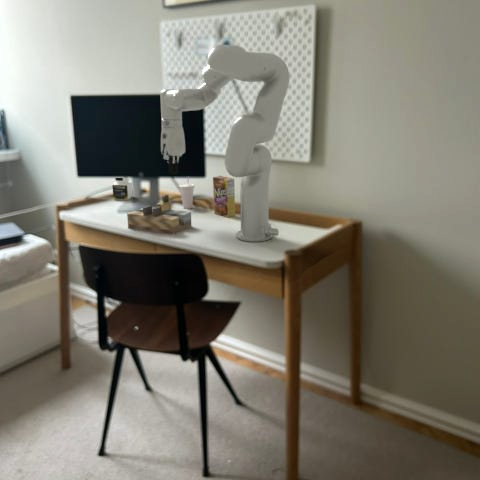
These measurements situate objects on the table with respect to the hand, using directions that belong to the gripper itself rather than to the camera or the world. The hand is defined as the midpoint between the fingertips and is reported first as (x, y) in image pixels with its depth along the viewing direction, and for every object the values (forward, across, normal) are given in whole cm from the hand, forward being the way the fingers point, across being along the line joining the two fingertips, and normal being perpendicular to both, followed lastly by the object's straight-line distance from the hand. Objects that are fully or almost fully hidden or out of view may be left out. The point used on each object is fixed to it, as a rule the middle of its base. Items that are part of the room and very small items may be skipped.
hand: (173, 173), depth 196 cm
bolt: (+13, -8, -1) cm, 15 cm away
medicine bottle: (+19, +22, +43) cm, 52 cm away
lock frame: (+18, -11, -1) cm, 21 cm away
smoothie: (+19, +19, +6) cm, 27 cm away
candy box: (+18, +15, -14) cm, 27 cm away
